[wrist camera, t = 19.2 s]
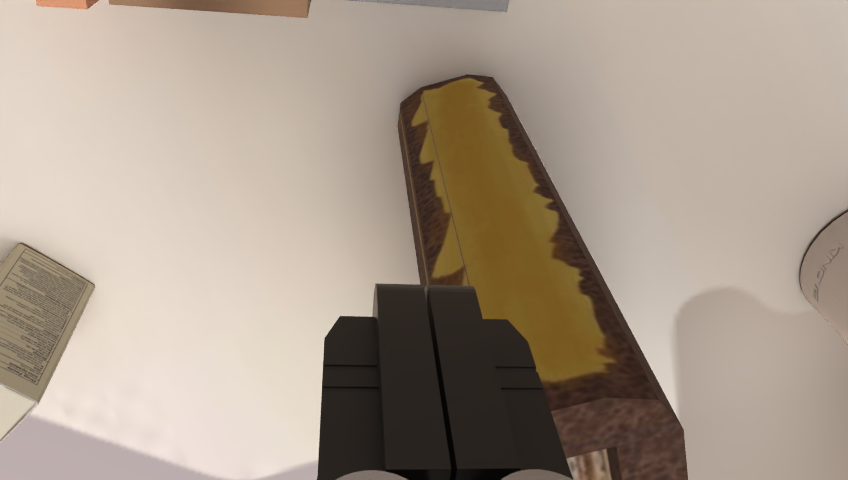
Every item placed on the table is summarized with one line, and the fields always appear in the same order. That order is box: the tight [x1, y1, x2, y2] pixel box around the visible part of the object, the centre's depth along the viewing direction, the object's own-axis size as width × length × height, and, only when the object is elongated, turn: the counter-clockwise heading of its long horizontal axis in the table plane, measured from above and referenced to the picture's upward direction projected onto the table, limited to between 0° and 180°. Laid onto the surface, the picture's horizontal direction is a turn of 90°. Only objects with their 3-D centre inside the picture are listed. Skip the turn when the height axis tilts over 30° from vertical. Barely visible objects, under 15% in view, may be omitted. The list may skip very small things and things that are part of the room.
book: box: [398, 75, 688, 480], centre depth 34 cm, size 22×8×25 cm, turn 15°
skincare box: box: [0, 244, 95, 443], centre depth 40 cm, size 5×4×10 cm
